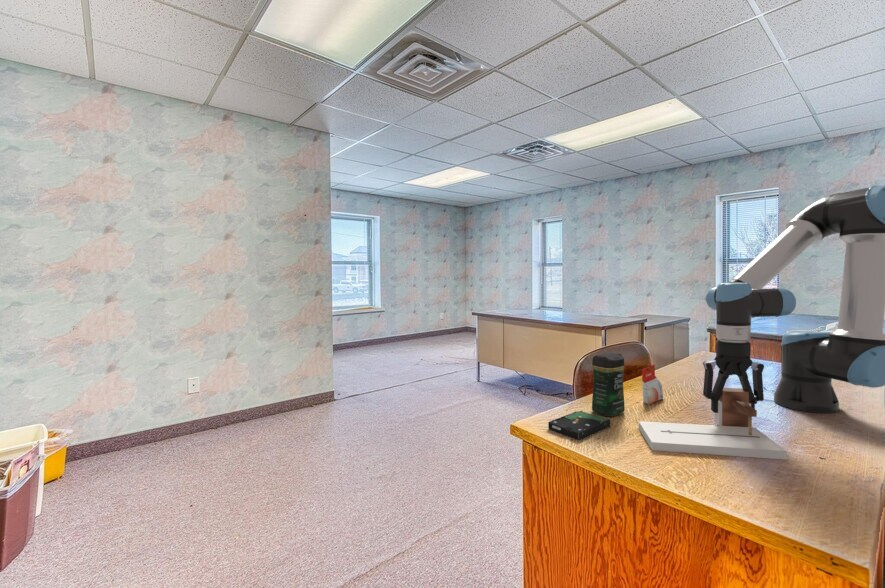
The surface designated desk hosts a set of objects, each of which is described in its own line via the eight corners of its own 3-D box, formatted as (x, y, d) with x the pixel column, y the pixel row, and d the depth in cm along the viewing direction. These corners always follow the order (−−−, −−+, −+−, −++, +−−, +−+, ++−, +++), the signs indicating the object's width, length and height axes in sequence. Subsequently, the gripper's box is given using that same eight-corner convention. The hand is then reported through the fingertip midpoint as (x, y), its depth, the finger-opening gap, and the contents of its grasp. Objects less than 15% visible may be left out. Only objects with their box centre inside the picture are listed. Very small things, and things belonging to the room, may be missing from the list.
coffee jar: (610, 419, 119) (609, 357, 118) (587, 412, 125) (587, 353, 124) (629, 412, 124) (629, 353, 123) (607, 405, 130) (606, 349, 129)
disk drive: (579, 443, 105) (611, 428, 113) (579, 433, 104) (610, 418, 113) (547, 431, 113) (579, 418, 122) (547, 421, 113) (579, 409, 121)
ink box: (663, 398, 136) (663, 365, 135) (650, 404, 130) (650, 370, 130) (654, 396, 138) (654, 364, 138) (642, 402, 132) (641, 368, 132)
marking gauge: (740, 426, 110) (740, 387, 110) (766, 447, 97) (767, 403, 97) (715, 425, 112) (715, 386, 111) (738, 445, 99) (738, 402, 98)
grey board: (755, 435, 105) (755, 427, 104) (786, 459, 91) (787, 450, 91) (638, 428, 111) (638, 420, 111) (651, 450, 98) (651, 441, 98)
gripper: (698, 342, 106) (698, 427, 107) (782, 343, 101) (781, 432, 102) (688, 337, 113) (688, 417, 114) (766, 338, 108) (765, 421, 110)
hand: (732, 424), depth 108 cm, fingers closed on marking gauge, 6 cm apart
